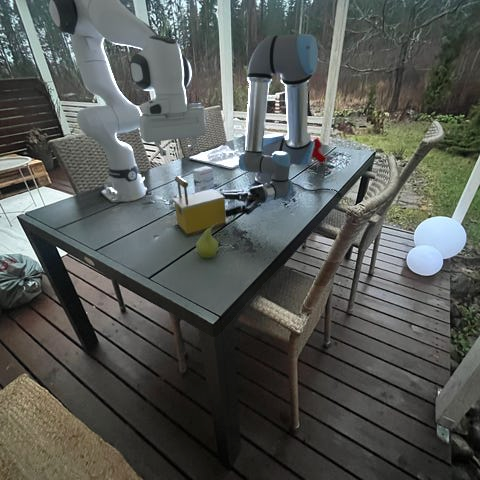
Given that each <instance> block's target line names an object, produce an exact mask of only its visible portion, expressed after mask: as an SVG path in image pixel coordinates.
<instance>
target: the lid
mask: <svg viewBox="0 0 480 480" xmlns="http://www.w3.org/2000/svg"><path fill="white" fill-rule="evenodd" d="M174 181H175V182H176V183H177V191H178V196H177V197H173V198H171V200H172V202H173V203H174V205H175V204H176V205H177V206H178V207H179V208H180V209H181V210H186V209H190V208H194V207H197V206H201V205H205V204H209V203H212V202H216V201H220V200H224V199H225V197H224V196H223V195H221V192H219V191H217V190H215V188H214V189H210V190H206V191H202V192H197V193H195V192H194V193H190V194H188V190H187V189H188V186H189V183H188V182H187V181H186V180H184V178H182V177H181V176H179V175H177V176H175V177H174ZM181 187H182V188H183V192H184V195H182V188H181ZM225 200H226V199H225Z"/></svg>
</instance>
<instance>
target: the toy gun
mask: <svg viewBox="0 0 480 480" xmlns="http://www.w3.org/2000/svg"><path fill="white" fill-rule="evenodd" d="M312 140H313V141H314V142H315V145H314V150H313V153H312V157H311V159H313V158H314V159H315V160H317V161H318V162H319V165H321V164H322V163H320V162H323V161H324V163H325V162H326V159H327V156H326V155H325V154H323V152H321V151H320V149H321V148H322V145H323V143H322V142H321V140H320V139H319V137H318V136H316V137H315V138H313V139H312Z"/></svg>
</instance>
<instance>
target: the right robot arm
mask: <svg viewBox="0 0 480 480" xmlns="http://www.w3.org/2000/svg"><path fill="white" fill-rule="evenodd" d="M318 48H319V47H318V42H317V39H316V37H315V36H314V35H313V34H310V33H297V34H282V35H281V34H280V35H276V34H274V35H269V36H267V37H265V38H264V39H263V40H261V41H260V43H259V44H258V45H257V46H256V48H255V50H254V51H253V53H252V55H251V58H250V60H249V63H248V68H247V76H246V79H247V81H248V83H249V84H248V85H249V86H248V87H249V88H248V101H247V103H248V104H247V114H246V115H247V117H246V128H245V129H246V131H245V143H244V144H245V146H244V152H245V153H242V154H241V155H240V156H239V160H238V165H239V166H238V168H239V169H240V170H241V171H244V172H249V173H256V174H255V178H254V181H255V183H258V184H259V185H256V186H252V187H251V188H250V189H249V190H248V191H245V190H244V189H242V188H241V189H233V190H231V189H229V190H221V191H220V194H221V195H223V196H224V197H225V200H232V201H238V202H242V203H243V204H241V205H238V206H234V207H231V208H227V209H225V217H226V218H229V217H232V216H236V215H240V214H245V215H246V216H247V215H248V216H249V215H250V214H251V213H253V212H254V211H255V210H257V209H258V208H259V207H262V204H266V203H269V202H273V201H276V200H279V199H282V198H283V199H284V198H287V197H288V196H290V195H292V193H293V192H294V189H295V187H294V186H297V187H299V188H301V189H302V190H304V191H308V192H317V191H331V192H332V191H333V190H334V191H333V192H335V191H336V192H335V193H336V194H338V195H339V197H341V196H342V194H341V193H340V191H338V190H336V189H335V188H334V189H333V188H327V187H326V188H325V187H321V188H315V189H309V188H305V187H304V186H302V185H300V184H297V183H295V182H292V180H291V179H290V178H289V177H290V169H291V168H290V167H291V165H296V166H307V165H309V164H310V162H311V160H312V158H311V157H312V153H313V150H314V145H315V142H314V141H313V139H312V137H311V134H310V133H309V132H308V112H309V111H308V109H309V107H308V106H309V105H308V104H309V103H308V102H309V101H308V100H309V99H308V98H309V81H310V80H311V79H312V77H313V74H315V73H316V71H317V68H318V59H319V49H318ZM273 75H279V76H280V82H281V83H282V84H283V85H284V86H285V87H284V89H285V105H286V106H285V107H286V122H287V123H286V124H287V135H286V136H285V135H284V134H283V133H269V134H266V135H265V130H266V119H267V108H268V97H269V88H270V84H271V82H272V81H273ZM330 189H331V190H330Z"/></svg>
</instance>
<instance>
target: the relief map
mask: <svg viewBox="0 0 480 480" xmlns="http://www.w3.org/2000/svg"><path fill="white" fill-rule="evenodd" d="M242 153H245V150H244V149H242V148H238V149H235V150H233V149H231V148H230V147H229V146H228V145H227V144H225V145H224V144H221V145H220V146H219V147H216V148H213V149H210V150H208V151H204V152H202V151H201V152H200V153H198V154H196V155H192V156H189V160H193V161H196V162H201V163H204V164H209V165H214V166H217V167H222V168H226V169H230V170H233V169H235V168H237V167H239V165H238V160H239V156H240V155H241V154H242Z"/></svg>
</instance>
